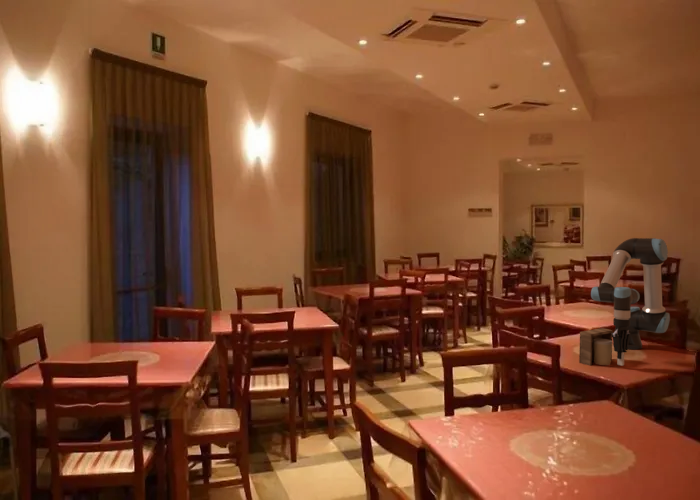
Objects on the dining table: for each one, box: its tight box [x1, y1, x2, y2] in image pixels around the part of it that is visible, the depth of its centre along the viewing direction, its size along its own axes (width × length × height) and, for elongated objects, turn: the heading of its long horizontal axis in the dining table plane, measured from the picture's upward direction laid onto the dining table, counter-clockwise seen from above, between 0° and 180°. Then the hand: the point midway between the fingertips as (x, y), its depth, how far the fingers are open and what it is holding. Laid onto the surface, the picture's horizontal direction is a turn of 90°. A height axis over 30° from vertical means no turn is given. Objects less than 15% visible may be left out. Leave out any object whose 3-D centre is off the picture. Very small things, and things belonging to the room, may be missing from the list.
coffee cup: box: [593, 338, 613, 366], centre depth 287 cm, size 9×9×12 cm
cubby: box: [578, 327, 613, 366], centre depth 289 cm, size 18×6×16 cm, turn 121°
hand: (620, 364), depth 278 cm, fingers closed
